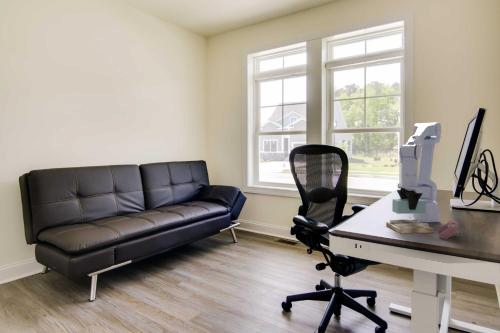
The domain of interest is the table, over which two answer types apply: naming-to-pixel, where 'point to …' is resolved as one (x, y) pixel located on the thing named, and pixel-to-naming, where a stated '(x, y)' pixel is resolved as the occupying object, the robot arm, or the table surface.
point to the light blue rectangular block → (407, 206)
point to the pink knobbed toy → (448, 230)
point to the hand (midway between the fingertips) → (408, 208)
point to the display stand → (409, 226)
